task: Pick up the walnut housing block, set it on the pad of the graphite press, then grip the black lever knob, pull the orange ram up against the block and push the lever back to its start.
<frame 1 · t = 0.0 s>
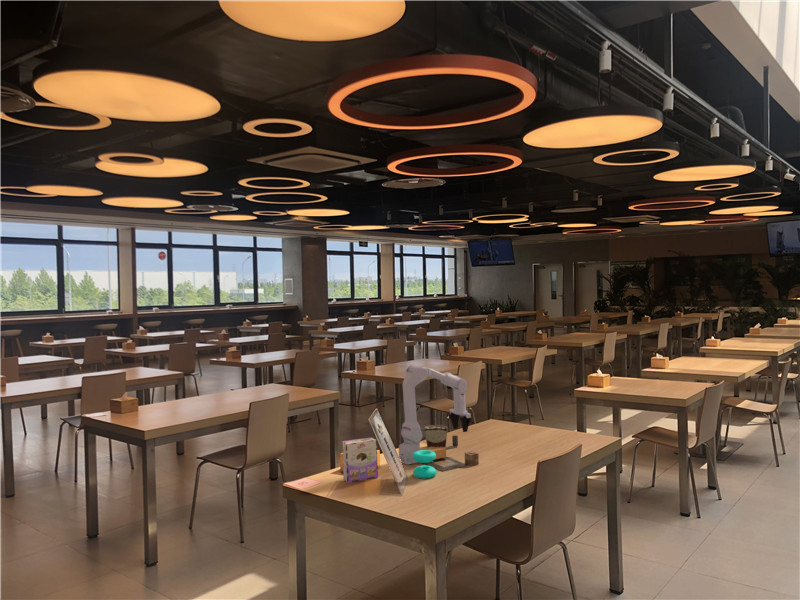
hand: (460, 430, 287), 10 cm above the table, tool pointing down, fingers open, 7 cm apart
candy box: (360, 479, 250), on the table
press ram: (442, 447, 274), point 5 cm above the table, slide at 0.0 cm
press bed: (445, 464, 266), on the table
donuts: (424, 476, 251), on the table
housing: (471, 464, 266), on the table
food container: (436, 446, 298), on the table
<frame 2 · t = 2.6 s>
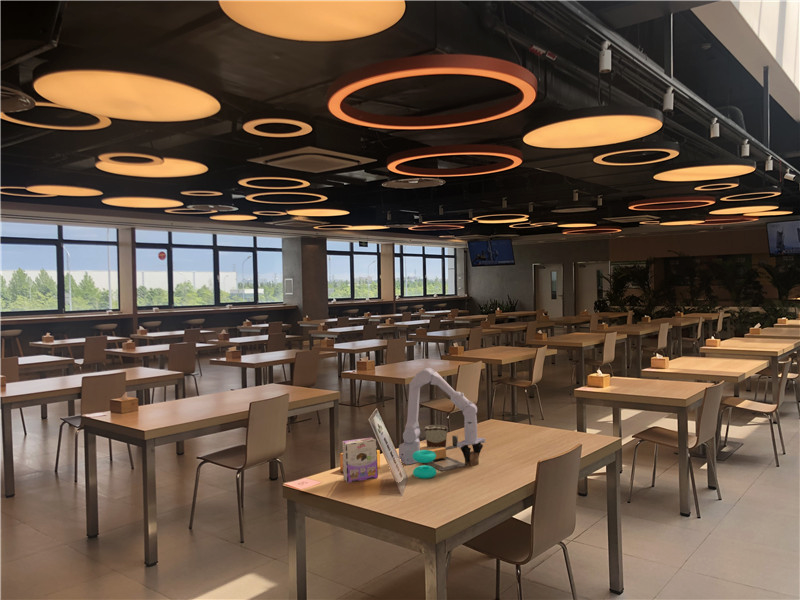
hand: (471, 460, 266), 1 cm above the table, tool pointing down, fingers closed on housing, 4 cm apart
housing: (471, 464, 266), on the table, touching gripper
everything else where it was.
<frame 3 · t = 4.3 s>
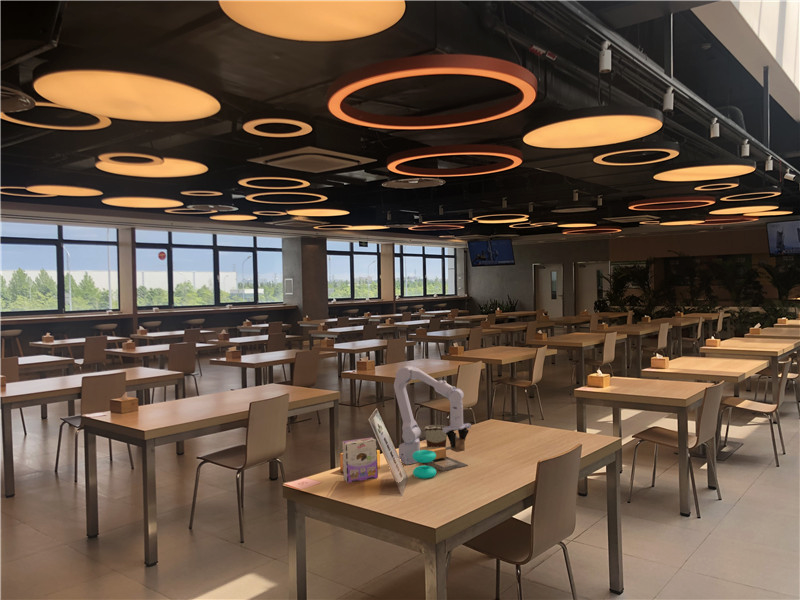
hand: (457, 446, 266), 8 cm above the table, tool pointing down, fingers closed on housing, 4 cm apart
housing: (457, 450, 265), point 6 cm above the table, touching gripper
everything else where it was.
when the fingers open (4 cm above the table, at t = 6.2 s): housing drops 1 cm, resting on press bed.
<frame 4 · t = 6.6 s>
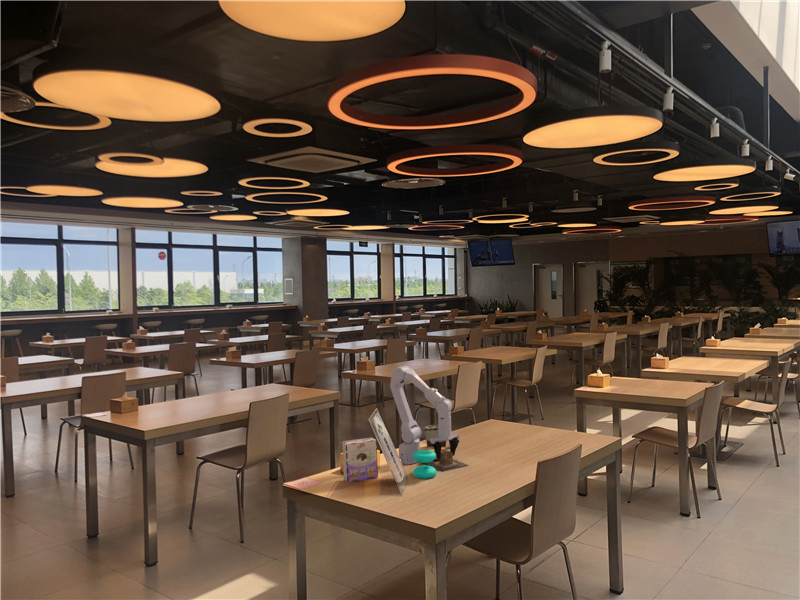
hand: (445, 456, 266), 4 cm above the table, tool pointing down, fingers open, 7 cm apart
housing: (446, 463, 265), point 1 cm above the table, touching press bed
everything else where it was.
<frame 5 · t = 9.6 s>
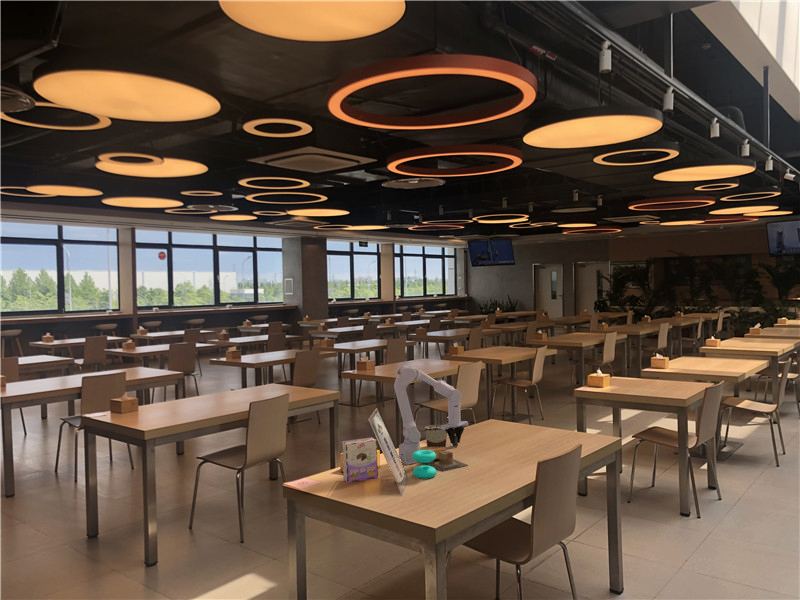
hand: (455, 442, 278), 6 cm above the table, tool pointing down, fingers closed on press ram, 2 cm apart
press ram: (442, 447, 274), point 5 cm above the table, slide at 0.0 cm, touching gripper
everything else where it was.
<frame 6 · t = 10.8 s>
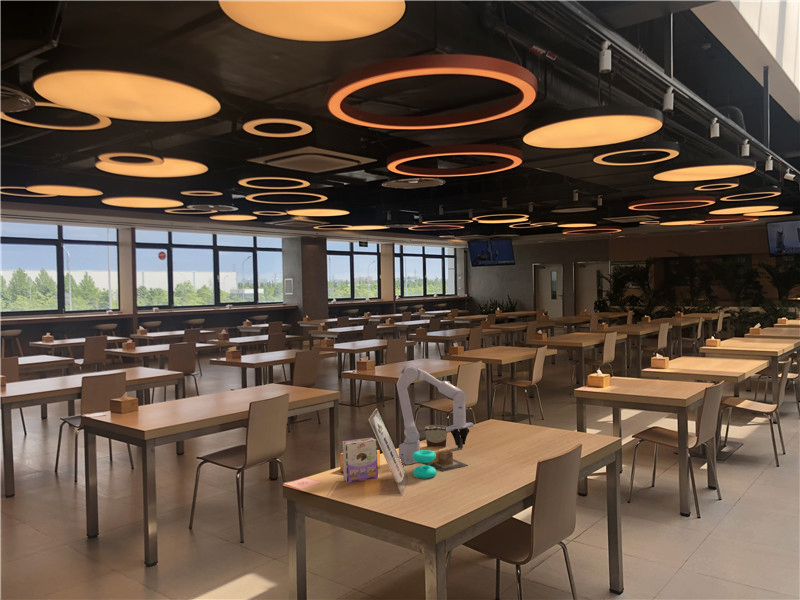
hand: (460, 444, 275), 6 cm above the table, tool pointing down, fingers closed on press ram, 2 cm apart
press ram: (447, 449, 271), point 5 cm above the table, slide at 3.9 cm, touching gripper
everything else where it was.
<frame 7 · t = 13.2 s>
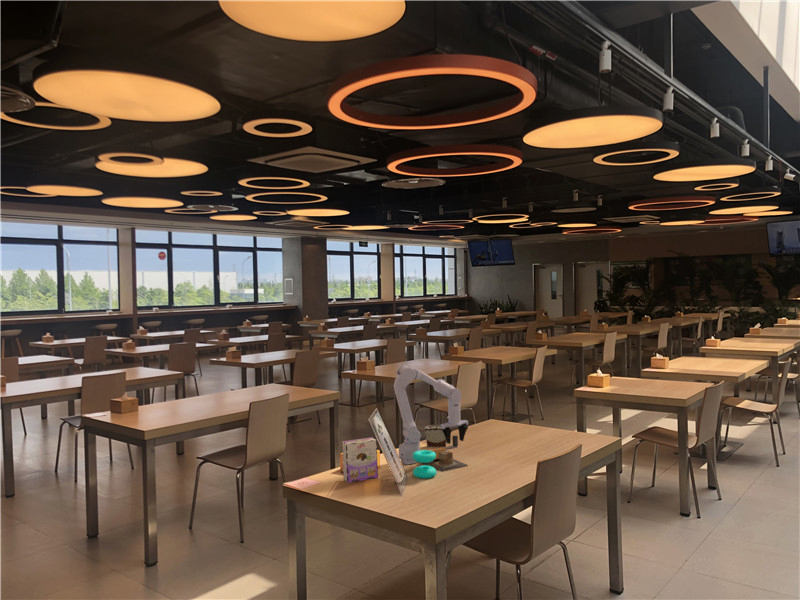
hand: (455, 441, 278), 7 cm above the table, tool pointing down, fingers open, 7 cm apart
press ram: (442, 447, 274), point 5 cm above the table, slide at 0.0 cm
everything else where it was.
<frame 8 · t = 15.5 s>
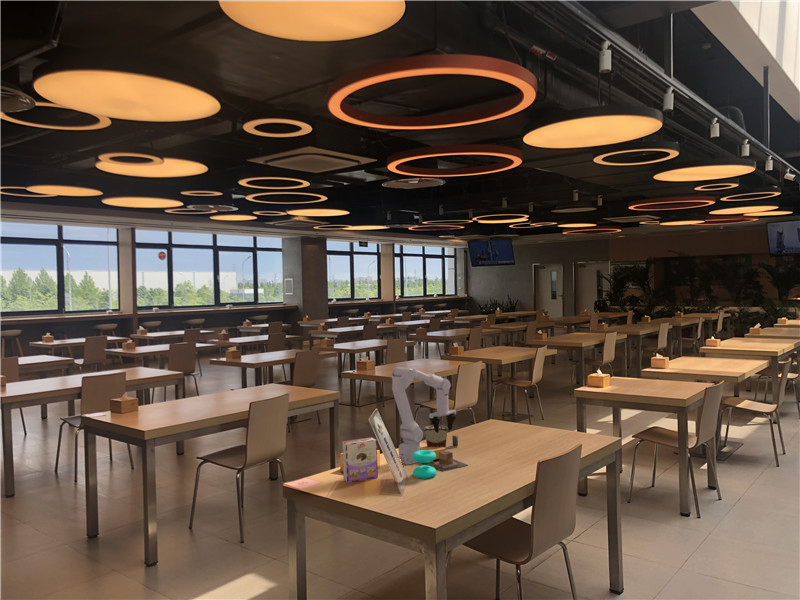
hand: (443, 430, 286), 10 cm above the table, tool pointing down, fingers open, 7 cm apart
nothing on the table moved.
at the end: housing 0.2 cm off-centre on the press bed, point 0.7 cm above the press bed's base; housing tilted 0°; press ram slide at 0.0 cm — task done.
